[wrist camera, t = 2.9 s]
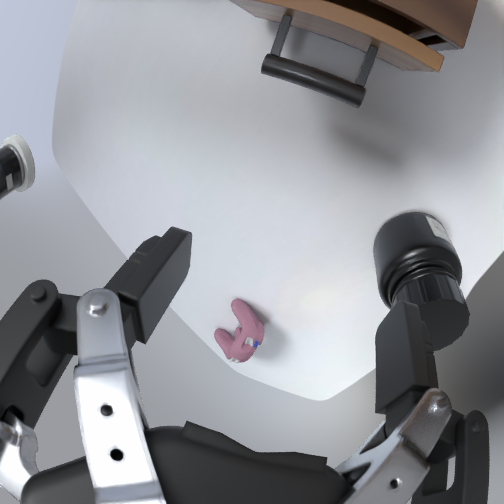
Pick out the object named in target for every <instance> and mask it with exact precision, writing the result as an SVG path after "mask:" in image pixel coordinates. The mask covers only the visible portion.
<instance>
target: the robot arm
mask: <svg viewBox="0 0 504 504" xmlns="http://www.w3.org/2000/svg"><path fill="white" fill-rule="evenodd" d="M24 180H25V170H24V165H23V161H22V158H21V156H20V154H19V152H18V150H17V149H16V148H15V147H14V146H13V145H11V144H7V145H5V146H3V147H2V148H1V149H0V200H1V199H2V198H3V197H5V196H6V195H8V194H9V193H11V192H12V191H14V190H15V189H17V188H19V187H20V186H22V185H23V183H24ZM191 244H192V233H191V232H189V231H185V230H182V229H179V228H176V227H170V228H169V230H168V231H167V232H166V233H165V234H164V235H163V236H162V237H159V236H156V235H155V236H153V237H151V238H149V239H148V240H146V241H144V242H143V243H142V244H141V245H140V246H139V247H138V248H137V249H136V251H135V253H133V254H132V255H131V256H130V257H129V260H127V261H126V262H125V263H124V264H123V265H122V267H121V268H120V269H119V270H118V271H117V272H116V274H115V275H114V276H113V277H112V278H111V280H110V281H109V282H108V283H107V284H106V286H105V287H104V288H98V289H93V290H90V291H88V292H86V293H85V294H84V295H83V296H73V295H66V294H60V293H58V290H57V287H56V285H55V284H54V283H53V282H51V281H49V280H38V281H35V282H33V283H31V284H30V285H29V286H28V287H27V288H26V289H25V290H24V291H23V292H22V294H21V295H20V296H19V297H18V299H17V300H16V301H15V302H14V304H13V305H12V306H11V307H10V309H9V310H8V311H7V313H6V314H5V315H4V317H3V318H2V319H1V321H0V486H1V487H2V488H3V489H5V490H6V491H7V492H8V493H10V494H11V495H12V496H13V497H14V498H16V499H17V500H18V501H19V502H20V504H406V503H407V502H408V500H409V499H410V498H411V496H412V501H411V504H487V500H488V486H489V431H488V423H487V420H486V418H485V416H484V415H483V414H482V413H481V412H480V411H478V410H473V411H471V412H470V413H468V414H467V415H465V416H464V415H462V414H460V413H458V412H457V411H455V410H453V409H452V406H451V403H450V400H449V398H448V396H447V395H446V394H445V393H444V392H443V391H442V390H440V389H439V388H438V380H437V373H436V365H435V358H434V355H433V353H434V352H433V346H431V345H432V341H431V335H430V331H429V330H428V328H427V326H426V324H425V322H424V321H423V320H421V316H420V311H419V307H418V305H416V304H413V303H410V302H407V301H404V300H399V301H397V303H396V304H395V305H394V306H393V308H392V309H391V311H390V312H389V313H388V314H387V316H386V317H385V318H384V320H383V321H382V322H381V324H380V325H379V327H378V329H377V332H376V337H375V345H376V405H375V406H376V407H375V413H379V414H386V420H384V421H383V422H382V423H381V424H380V425H379V426H378V427H377V429H376V430H375V431H374V432H373V433H372V434H371V436H370V437H369V438H368V439H367V440H366V441H365V442H364V443H363V445H362V446H361V447H360V448H359V449H358V450H357V451H356V452H355V453H354V454H353V455H352V456H351V457H350V458H348V459H347V460H346V461H344V462H342V463H341V464H340V465H338V466H337V467H336V468H335V469H333V468H331V467H329V466H327V465H326V463H327V457H321V456H315V455H309V454H304V453H298V452H270V453H268V452H264V453H263V452H255V451H253V450H251V449H249V448H247V447H245V446H243V445H242V444H240V443H238V442H236V441H235V440H233V439H231V438H229V437H228V436H226V435H224V434H222V433H220V432H217V431H214V430H211V429H208V428H205V427H202V426H199V425H197V424H194V423H191V422H189V421H186V424H185V426H184V427H180V426H160V427H155V428H150V425H149V422H148V418H147V414H146V411H145V408H144V404H143V401H142V397H141V394H140V389H139V385H138V381H137V376H136V372H135V367H134V361H133V357H132V351H131V348H132V347H133V345H134V343H135V342H136V340H137V341H139V342H142V343H144V344H146V343H147V341H148V339H149V338H150V336H151V334H152V333H153V331H154V329H155V327H156V326H157V324H158V322H159V321H160V319H161V317H162V316H163V314H164V313H165V311H166V309H167V308H168V306H169V304H170V303H171V301H172V299H173V298H174V296H175V294H176V293H177V291H178V290H179V288H180V286H181V285H182V283H183V282H184V280H185V278H186V276H187V274H188V271H189V267H190V257H191ZM73 355H77V356H78V365H76V366H75V368H74V385H75V395H76V403H77V410H78V417H79V423H80V429H81V435H82V440H83V445H84V450H85V454H86V456H84V457H81V458H78V459H75V460H73V461H70V462H67V463H65V464H62V465H59V466H56V467H53V468H50V469H47V470H44V471H41V472H39V470H38V468H37V465H36V460H35V457H36V453H37V451H38V443H37V438H36V435H35V433H34V431H33V430H34V427H35V425H36V423H37V421H38V419H39V417H40V415H41V413H42V411H43V409H44V407H45V405H46V403H47V402H48V399H49V398H50V396H51V394H52V392H53V390H54V388H55V386H56V385H57V383H58V381H59V379H60V378H61V376H62V374H63V372H64V370H65V369H66V367H67V365H68V364H69V362H70V360H71V358H72V357H73ZM455 456H456V460H455V477H454V482H453V485H452V486H451V487H450V488H449V489H448V490H446V487H447V475H448V459H450V458H453V457H455Z"/></svg>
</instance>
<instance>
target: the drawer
mask: <svg viewBox="0 0 504 504" xmlns="http://www.w3.org/2000/svg"><path fill="white" fill-rule="evenodd" d="M230 1H231V2H233V3H235V4H236V5H238V6H239V7H241V8H243V9H244V10H246V11H247V12H249V13H250V14H252V15H254V16H255V17H258V18H263V19H267V20H272V21H276V22H280V26H279V29H278V32H277V35H276V38H275V41H274V44H273V47H272V50H271V54H267V55H266V56H265V58H264V61H263V63H262V67H261V73H262V74H265V75H269V76H272V77H276V78H279V79H282V80H285V81H288V82H291V83H294V84H297V85H300V86H303V87H306V88H309V89H312V90H314V91H317V92H320V93H322V94H325V95H327V96H330V97H332V98H335V99H337V100H340V101H342V102H345V103H347V104H349V105H352V106H354V107H356V108H359V107H360V105H361V103H362V101H363V99H364V96H365V93H366V89H365V88H364V85H365V83H366V80H367V78H368V75H369V73H370V70H371V67H372V65H373V62H374V60H375V57H378V58H380V59H382V60H384V61H386V62H388V63H390V64H392V65H394V66H396V67H398V68H400V69H402V70H412V71H430V72H439V70H440V68H441V65H442V62H443V60H444V56H442V55H441V54H439V53H438V52H436V51H434V50H433V49H431V48H429V47H428V46H426V45H424V44H423V43H421V42H419V41H417V40H418V39H422V38H426V37H429V36H433V35H436V34H434V33H433V32H431V31H429V30H427V29H426V28H424V27H422V26H420V25H419V24H417V23H415V22H413V21H411V20H409V19H407V18H405V17H403V16H401V15H399V14H397V13H395V12H393V11H391V10H389V9H387V8H385V7H382V6H380V5H378V4H375V3H373V2H371V1H368V0H230ZM290 25H291V26H295V27H298V28H301V29H305V30H308V31H311V32H314V33H317V34H320V35H323V36H326V37H329V38H332V39H335V40H337V41H340V42H343V43H345V44H348V45H350V46H353V47H355V48H357V49H360V50H362V51H365V52H367V53H366V56H365V58H364V61H363V64H362V66H361V69H360V72H359V74H358V77H357V79H356V82H355V83H352V82H350V81H348V80H345V79H343V78H340V77H338V76H335V75H333V74H330V73H328V72H325V71H322V70H320V69H317V68H314V67H311V66H308V65H305V64H302V63H299V62H296V61H293V60H290V59H286V58H283V57H280V54H281V51H282V48H283V45H284V43H285V40H286V37H287V34H288V31H289V28H290Z"/></svg>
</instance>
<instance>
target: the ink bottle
mask: <svg viewBox="0 0 504 504" xmlns="http://www.w3.org/2000/svg"><path fill="white" fill-rule="evenodd" d="M374 260H375V267H376V274H377V282H378V289H379V294H380V297H381V299H382V301H383V302H384V304H385V305H386V306H387V307H388V308H389V309H390V310H391V309H392V308H393V306H394V305H395V304H396V303H397V301H399V300H404V301H407V302H410V303H413V304H416V305H418V307H419V311H420V316H421V320H423V321H424V322H425V324H426V326H427V328H428V330H429V331H430V335H431V341H432V345H431V346H433V351H436V350H440V349H442V348H444V347H446V346H448V345H450V344H452V343H453V342H454V341H455V340H456V339H458V338H459V337H460V336H462V334H463V332H464V331H465V329H466V327H467V326H468V324H469V323H468V322H469V316H470V313H469V310H468V307H467V305H466V302H465V299H464V296H463V294H462V291H461V289H460V287H459V286H460V283H461V279H462V266H461V262H460V259H459V257H458V255H457V253H456V250H455V248H454V246H453V245H452V243H451V241H450V239H449V237H448V235H447V233H446V231H445V229H444V228H443V226H442V225H441V223H440V222H439V221H438V220H437V219H436V218H434V217H433V216H431V215H429V214H425V213H420V212H410V213H405V214H401V215H399V216H396V217H394V218H392V219H391V220H389V221H388V222H387V223H385V224H384V225H383V226H382V228H381V229H380V230H379V232H378V234H377V236H376V239H375V242H374Z"/></svg>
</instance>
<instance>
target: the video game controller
mask: <svg viewBox="0 0 504 504" xmlns="http://www.w3.org/2000/svg"><path fill="white" fill-rule="evenodd" d="M231 307H232V311H233V312H234V314H235V316H236V317H237V319H238V321H239V322H240V324H241V326H242V328H236V330H235V340H234V339H233V338H232V337H231V336H230V335H229V334H228V333H227V332H226V331H224V330H222V329H217V330H215V333H214V336H215V339H216V341H217V343H218V344H219V346H220V347H221V349H222V350H223V352H224V354H225V355H226V357H227V359H229V360H230V362H231V361H234V362H236V363H238V362H245V361H247V360H248V359H249V358H250V357H251V356H252V355H253V353H254V352H255V350H256V348H257V346H258V345H260V344H261V343H262V341H263V337H264V328H263V324H262V323H261V322H260V321H259V320H258V318H257V317H256V315H255V314H254V312H253V311H252V309H251V308H250V307H249V306H248V305H247V304H246V303H245V302H243V301H242V300H239V299H235V300H233V301H232V303H231Z"/></svg>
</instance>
